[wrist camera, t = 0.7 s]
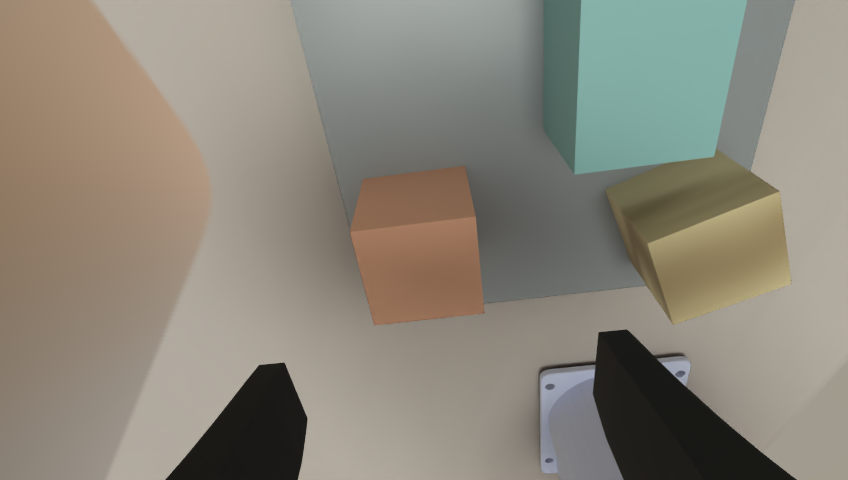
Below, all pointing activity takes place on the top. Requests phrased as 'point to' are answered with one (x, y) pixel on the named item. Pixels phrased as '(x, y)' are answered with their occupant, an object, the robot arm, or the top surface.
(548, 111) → the base brick
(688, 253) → the brick
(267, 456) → the robot arm
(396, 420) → the top surface
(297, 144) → the top surface
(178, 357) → the top surface
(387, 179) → the cube brick
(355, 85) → the baseplate
